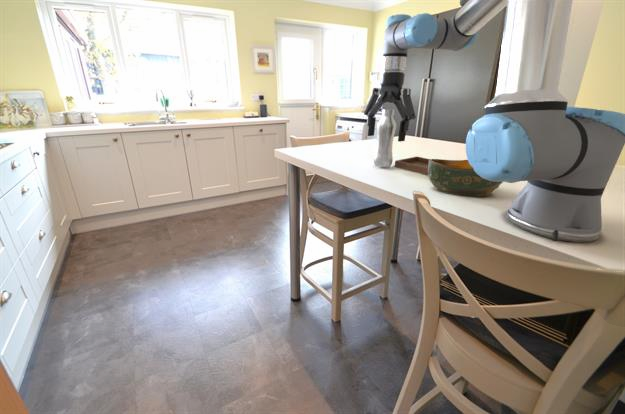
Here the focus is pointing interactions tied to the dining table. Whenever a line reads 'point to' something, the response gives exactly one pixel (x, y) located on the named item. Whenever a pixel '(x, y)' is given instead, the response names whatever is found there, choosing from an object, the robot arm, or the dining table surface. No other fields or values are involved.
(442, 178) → the green patterned bowl
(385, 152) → the plastic bottle
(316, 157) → the dining table surface
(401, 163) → the tray
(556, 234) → the robot arm
